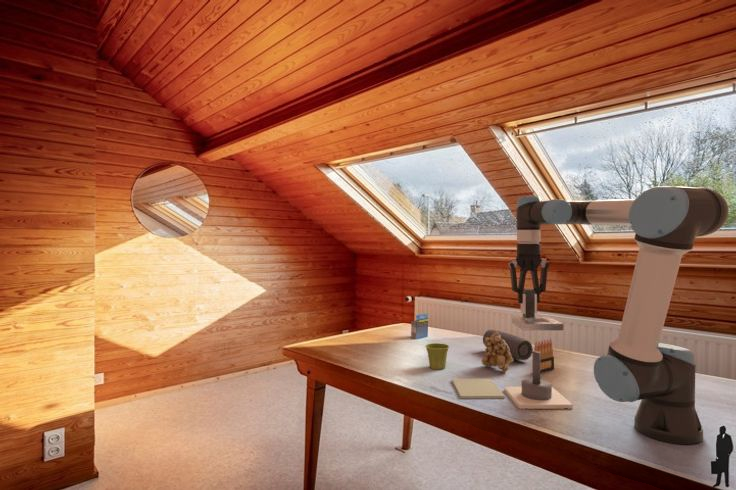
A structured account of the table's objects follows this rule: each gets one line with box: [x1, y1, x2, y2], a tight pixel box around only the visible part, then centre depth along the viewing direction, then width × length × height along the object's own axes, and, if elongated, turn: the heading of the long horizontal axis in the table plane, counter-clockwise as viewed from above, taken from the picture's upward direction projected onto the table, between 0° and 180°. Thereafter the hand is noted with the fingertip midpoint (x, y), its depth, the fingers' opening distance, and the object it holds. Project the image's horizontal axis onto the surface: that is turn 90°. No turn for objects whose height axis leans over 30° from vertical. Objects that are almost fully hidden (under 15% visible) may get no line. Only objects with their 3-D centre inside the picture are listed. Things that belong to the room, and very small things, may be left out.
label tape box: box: [410, 313, 429, 340], centre depth 229 cm, size 9×4×12 cm, turn 130°
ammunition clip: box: [533, 338, 555, 374], centre depth 172 cm, size 11×2×12 cm, turn 123°
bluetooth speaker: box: [482, 329, 534, 361], centre depth 193 cm, size 23×9×10 cm, turn 22°
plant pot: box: [425, 342, 450, 371], centre depth 177 cm, size 9×9×9 cm
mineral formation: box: [481, 332, 514, 373], centre depth 174 cm, size 8×13×15 cm, turn 32°
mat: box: [451, 378, 506, 399], centre depth 152 cm, size 17×14×1 cm
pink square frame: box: [511, 288, 564, 332], centre depth 144 cm, size 15×12×11 cm
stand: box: [503, 350, 574, 410], centre depth 143 cm, size 16×16×15 cm
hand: (528, 312), depth 150 cm, fingers closed on pink square frame, 3 cm apart
